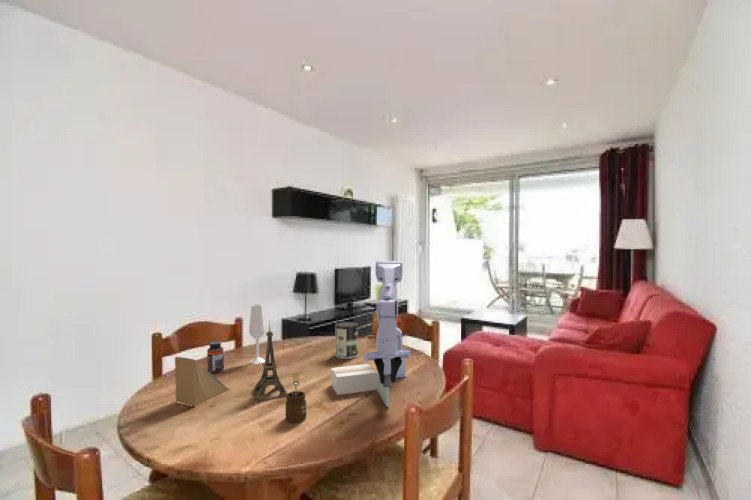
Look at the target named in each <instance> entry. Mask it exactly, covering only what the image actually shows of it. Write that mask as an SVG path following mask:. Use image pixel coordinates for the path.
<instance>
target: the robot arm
mask: <svg viewBox="0 0 751 500" xmlns="http://www.w3.org/2000/svg"><path fill="white" fill-rule="evenodd" d="M374 271H375V278H376V281H377V282H378V283H381V284H382V285H381V286H380V287H379V292H378V301H377V302H376V318H377V331H376V340H375V341H376V343H375V346H376V351H372V352H365V353H363V360H364V361H365V362H369V361H373V363H374V365H375V367H376V372H377V373H379V378H380V382H381V384H384V373H390V374H391V383H392V384H393V383H394V384H395V383H396V379H398V378H399V377H400V378H406V377H407V366H406V365H407V363H406V362H407V359H411V358H412V354H411V353H412V351H410V350H409V349H408V350H407V349H403V332H402V330H401V329H400V328H399V327H398V326H397V322H398V321H397V319H398V316H399V302H398V297H397V295H398V294H397V292H398V289H397V288H396V286H397V284H398V283H400V282H402V280H403V261H401V260H376V262H375V270H374ZM400 378H399V379H400Z"/></svg>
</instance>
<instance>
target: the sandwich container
mask: <svg viewBox="0 0 751 500" xmlns="http://www.w3.org/2000/svg"><path fill="white" fill-rule="evenodd" d="M174 367H175V368H174V370H175V375H174V376H175V379H174V380H175V401H178V402H181V403H185V404H188V405H192V406H196V405H199V404H201V403H203V402H205V401H207V400H209V399H212V398H213V397H216V396H218V395H220V394H222V393H224V392H226V391H228V390H230V391H231V388H229V387H228V386H226V385H225V384H224V383H223V382H221V380H219V379H218V378H217V377H216V376H214V374H213V373H209V372H208V370H207V369H206V368H205V367H203V365H201V364H200V363H199V362H198V361H197V360H196V359H193V358H189V357H182V356H175V357H174ZM228 392H229V391H228ZM226 393H227V392H226ZM224 394H225V393H224ZM222 395H223V394H222ZM220 396H221V395H220ZM218 397H219V396H218ZM216 398H217V397H216ZM212 400H213V399H212ZM207 402H208V401H207ZM205 403H206V402H205ZM203 404H204V403H203ZM201 405H202V404H201ZM199 406H200V405H199Z"/></svg>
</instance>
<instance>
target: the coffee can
mask: <svg viewBox="0 0 751 500" xmlns="http://www.w3.org/2000/svg"><path fill="white" fill-rule="evenodd" d="M334 326H335V327H334V328H335V335H334V336H335V338H334V339H335V357H336V358H338V359H343V360H344V359H345V360H347V359H348V360H349V359H355V358H357V357H358V356H359V323H357V322H356V321H355V322H353V321H342V322H341V321H340V322H336V323H335V324H334Z"/></svg>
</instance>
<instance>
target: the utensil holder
mask: <svg viewBox="0 0 751 500" xmlns="http://www.w3.org/2000/svg"><path fill="white" fill-rule="evenodd" d="M292 377H293V378H292V379H293V380H292V384H291V391H290V392H287V393H288V394H287V397H286V402H285V406H284V407H285V419H286V420H285V421H287V422H289V423H299V422H302V421H304V420H306V418H307V401H306V394H305V392H304V391H300V390H298V389H297V387H298V386H299V380H300V379H299V373H293V374H292ZM293 388H294V391H293Z"/></svg>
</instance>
